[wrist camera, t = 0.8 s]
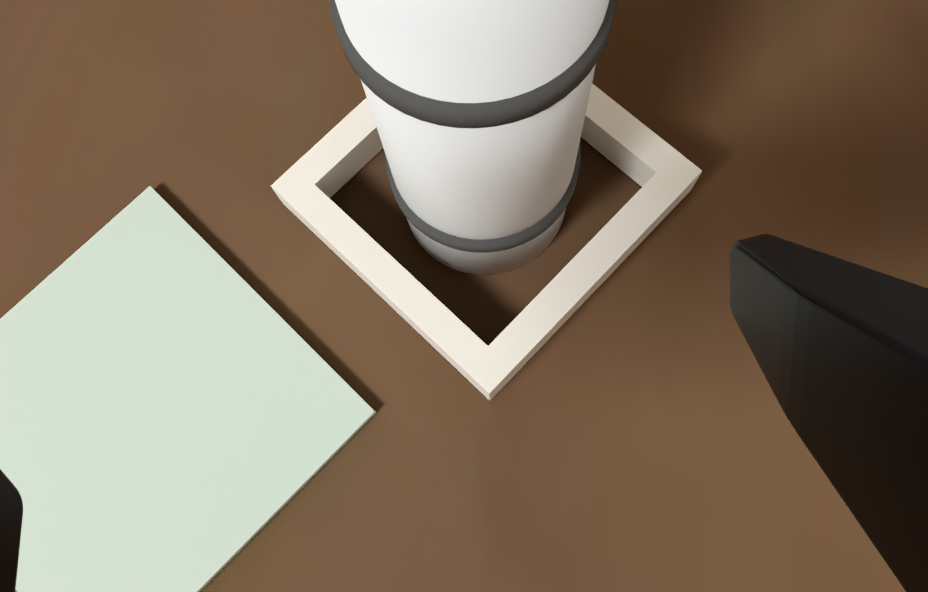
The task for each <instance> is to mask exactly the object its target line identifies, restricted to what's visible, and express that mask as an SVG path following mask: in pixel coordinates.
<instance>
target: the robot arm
mask: <svg viewBox="0 0 928 592" xmlns="http://www.w3.org/2000/svg"><path fill="white" fill-rule="evenodd" d="M729 302H730V307H731V311H732V313H733V316H734V318H735V320H736V322H737V324H738V326H739V328H740V330H741V331H742V333H743V335H744V337H745V339H746V341H747V343H748V345H749V347H750V349H751V351H752V352H753V354H754V356H755V358H756V360H757V362H758V364H759V366H760V368H761V370H762V372H763V373H764V375H765V377H766V379H767V381H768V383H769V385H770V387H771V389H772V391H773V393H774V394H775V396H776V398H777V400H778V402H779V404H780V406H781V407H782V409H783V411H784V413H785V415H786V416H787V418H788V420H789V421H790V423H791V424H792V426H793V427H794V429H795V431H796V432H797V434H798V435H799V437H800V438H801V439H802V441H803V442H804V444H805V445H806V447H807V448H808V450H809V451H810V453H811V454H812V455H813V457H814V458H815V460H816V461H817V463H818V464H819V466H820V467H821V469H822V470H823V471H824V473H825V474H826V476H827V477H828V479H829V480H830V482H831V483H832V485H833V486H834V487H835V489H836V490H837V492H838V493H839V495H840V496H841V498H842V499H843V501H844V502H845V503H846V505H847V506H848V508H849V509H850V511H851V512H852V514H853V515H854V517H855V518H856V520H857V521H858V522H859V524H860V525H861V527H862V528H863V530H864V531H865V533H866V534H867V536H868V537H869V538H870V540H871V541H872V543H873V544H874V546H875V547H876V549H877V550H878V552H879V553H880V554H881V556H882V557H883V559H884V560H885V562H886V563H887V565H888V566H889V568H890V569H891V570H892V572H893V573H894V575H895V576H896V578H897V579H898V581H899V582H900V584H901V585H902V586H903V588H904V589H905V591H906V592H928V289H927V288H924V287H921V286H919V285H916V284H913V283H910V282H907V281H904V280H901V279H898V278H895V277H892V276H889V275H886V274H883V273H881V272H878V271H875V270H872V269H869V268H866V267H863V266H860V265H857V264H854V263H851V262H848V261H845V260H842V259H840V258H837V257H834V256H831V255H828V254H825V253H822V252H819V251H816V250H813V249H810V248H807V247H804V246H802V245H799V244H796V243H793V242H790V241H787V240H784V239H781V238H778V237H775V236H772V235H768V234H762V235H758V236H754V237H750V238H747V239H743V240H739V241H736V242H735V243H734V244H733V245H732V246H731V249H730V254H729ZM22 518H23V502H22V498H21V495H20V493H19V491H18V490H17V488H16V487H15V486H14V484H13V483H12V482H11V481H10V480H9V479H8V477H7V476H6V475H5V474H4V473H3V471H2V470H1V469H0V592H15V589H16V579H17V569H18V559H19V548H20V538H21V528H22Z"/></svg>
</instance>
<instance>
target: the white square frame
mask: <svg viewBox="0 0 928 592" xmlns="http://www.w3.org/2000/svg"><path fill="white" fill-rule="evenodd" d="M581 138H583V139H584V140H585V141H586V142H587V143H589V144H590V145H591V146H592V147H594V148H595V149H596V150H597V151H598V152H600V153H601V154H602V155H603V156H605V157H606V158H607V159H608V160H609V161H611V162H612V163H613V164H614V165H616V166H617V167H618V168H619V169H620V170H622V171H623V172H624V173H625V174H627V175H628V176H629V177H630V178H631V179H633V180H634V181H635V182H636V183H638V184H639V185H640V186H641V187H642V188H641V189H640V190H639V191H638V192H637V193H636V194H635V195H634V196H633V197H632V198H631V199H630V200H629V201H628V202H627V203H626V204H625V205H624V206H623V207H622V209H621V210H620V211H619V212H618V213H617V214H616V215H615V216H614V217H613V218H612V219H611V220H610V221H609V222H608V223H607V224H606V225H605V226H604V227H603V228H602V229H601V230H600V231H599V232H598V233H597V234H596V235H595V236H594V237H593V238H592V239H591V240H590V242H589V243H588V244H587V245H586V246H585V247H584V248H583V249H582V250H581V251H580V252H579V253H578V254H577V255H576V256H575V257H574V258H573V259H572V260H571V261H570V262H569V263H568V264H567V265H566V266H565V267H564V268H563V269H562V270H561V271H560V272H559V273H558V274H557V276H556V277H555V278H554V279H553V280H552V281H551V282H550V283H549V284H548V285H547V286H546V287H545V288H544V289H543V290H542V291H541V292H540V293H539V294H538V295H537V296H536V297H535V298H534V299H533V300H532V301H531V302H530V303H529V304H528V305H527V306H526V307H525V308H524V310H523V311H522V312H521V313H520V314H519V315H518V316H517V317H516V318H515V319H514V320H513V321H512V322H511V323H510V324H509V325H508V326H507V327H506V328H505V329H504V330H503V331H502V332H501V333H500V334H499V335H498V336H497V337H496V338H495V339H494V340H493V341H492V342H491V344H490V345H489V346H487V345H486V344H485V343H484V342H483V341H482V340H481V339H480V338H479V337H478V336H477V335H476V334H475V333H473V332H472V331H471V330H470V329H469V328H468V327H467V326H466V325H465V324H464V323H463V322H462V321H461V320H460V319H458V318H457V317H456V316H455V315H454V314H453V313H452V312H451V311H450V310H449V309H448V308H447V307H446V306H445V305H443V304H442V303H441V302H440V301H439V300H438V299H437V298H436V297H435V296H434V295H433V294H432V293H431V292H429V291H428V290H427V289H426V288H425V287H424V286H423V285H422V284H421V283H420V282H419V281H418V280H417V279H416V278H414V277H413V276H412V275H411V274H410V273H409V272H408V271H407V270H406V269H405V268H404V267H403V266H402V265H401V264H399V263H398V262H397V261H396V260H395V259H394V258H393V257H392V256H391V255H390V254H389V253H388V252H387V251H385V250H384V249H383V248H382V247H381V246H380V245H379V244H378V243H377V242H376V241H375V240H374V239H373V238H372V237H370V236H369V235H368V234H367V233H366V232H365V231H364V230H363V229H362V228H361V227H360V226H359V225H358V224H357V223H355V222H354V221H353V220H352V219H351V218H350V217H349V216H348V215H347V214H346V213H345V212H344V211H343V210H342V209H340V208H339V207H338V206H337V205H336V204H335V203H334V202H333V201H332V200H331V199H330V198H331V197H332V196H333V195H334V194H335V193H336V192H337V191H338V190H339V189H340V188H341V187H342V186H344V185H345V184H346V183H347V182H348V181H349V180H350V179H351V178H352V177H353V176H354V175H355V174H356V173H357V172H358V171H360V170H361V169H362V168H363V167H364V166H365V165H366V164H367V163H368V162H369V161H370V160H371V159H372V158H373V157H374V156H375V155H377V154H378V153H379V152H380V151H381V150H382V149H383V145H382V142H381V139H380V136H379V133H378V130H377V127H376V124H375V121H374V118H373V115H372V112H371V109H370V106H369V103H368V100H367V98H366V99H365V100H363V101H362V102H361V103H360V104H359V105H358V106H357V107H356V108H355V109H354V110H353V111H352V112H350V113H349V114H348V115H347V116H346V117H345V118H344V119H343V120H342V121H341V122H340V123H338V124H337V125H336V126H335V127H334V128H333V129H332V130H331V131H330V132H329V133H328V134H327V135H325V136H324V137H323V138H322V139H321V140H320V141H319V142H318V143H317V144H316V145H315V146H313V147H312V148H311V149H310V150H309V151H308V152H307V153H306V154H305V155H304V156H303V157H302V158H300V159H299V160H298V161H297V162H296V163H295V164H294V165H293V166H292V167H291V168H290V169H288V170H287V171H286V172H285V173H284V174H283V175H282V176H281V177H280V178H279V179H278V180H277V181H275V182H274V183H273V184H272V185H271V187H272V189H273V190H274V191H275V193H276V194H277V196H278V197H279V198H280V200H281V201H282V203H283V204H284V205H285V206H286V207H287V208H288V209H289V210H290V211H291V212H292V213H293V214H294V215H295V216H297V217H298V218H299V219H300V220H301V221H302V222H303V223H304V224H305V225H306V226H307V227H308V228H309V229H310V230H311V231H312V232H313V233H314V234H315V235H316V236H318V237H319V238H320V239H321V240H322V241H323V242H324V243H325V244H326V245H327V246H328V247H329V248H330V249H331V250H332V251H333V252H334V253H335V254H336V255H337V256H338V257H340V258H341V259H342V260H343V261H344V262H345V263H346V264H347V265H348V266H349V267H350V268H351V269H352V270H353V271H354V272H355V273H356V274H357V275H358V276H359V277H361V278H362V279H363V280H364V281H365V282H366V283H367V284H368V285H369V286H370V287H371V288H372V289H373V290H374V291H375V292H376V293H377V294H378V295H379V296H380V297H382V298H383V299H384V300H385V301H386V302H387V303H388V304H389V305H390V306H391V307H392V308H393V309H394V310H395V311H396V312H397V313H398V314H399V315H400V316H401V317H402V318H404V319H405V320H406V321H407V322H408V323H409V324H410V325H411V326H412V327H413V328H414V329H415V330H416V331H417V332H418V333H419V334H420V335H421V336H422V337H423V338H425V339H426V340H427V341H428V342H429V343H430V344H431V345H432V346H433V347H434V348H435V349H436V350H437V351H438V352H439V353H440V354H441V355H442V356H443V357H444V358H445V359H447V360H448V361H449V362H450V363H451V364H452V365H453V366H454V367H455V368H456V369H457V370H458V371H459V372H460V373H461V374H462V375H463V376H464V377H465V378H466V379H468V380H469V381H470V382H471V383H472V384H473V385H474V386H475V387H476V388H477V389H478V390H479V391H480V392H481V393H482V394H483V395H484V396H485V397H486V398H487V399H489V400H490V401H491V399H492V398H493V397H494V396H495V395H496V394H497V393H498V392H499V391H500V390H501V389H502V388H503V387H504V386H505V385H506V384H507V383H508V382H509V381H510V380H511V379H512V377H513V376H514V375H515V374H516V373H517V372H518V371H519V370H520V369H521V368H522V367H523V366H524V365H525V364H526V363H527V362H528V361H529V360H530V359H531V358H532V357H533V355H534V354H535V353H536V352H537V351H538V350H539V349H540V348H541V347H542V346H543V345H544V344H545V343H546V342H547V341H548V340H549V339H550V338H551V337H552V336H553V334H554V333H555V332H556V331H557V330H558V329H559V328H560V327H561V326H562V325H563V324H564V323H565V322H566V321H567V320H568V319H569V318H570V317H571V316H572V315H573V314H574V312H575V311H576V310H577V309H578V308H579V307H580V306H581V305H582V304H583V303H584V302H585V301H586V300H587V299H588V298H589V297H590V296H591V295H592V294H593V293H594V292H595V290H596V289H597V288H598V287H599V286H600V285H601V284H602V283H603V282H604V281H605V280H606V279H607V278H608V277H609V276H610V275H611V274H612V273H613V272H614V271H615V270H616V268H617V267H618V266H619V265H620V264H621V263H622V262H623V261H624V260H625V259H626V258H627V257H628V256H629V255H630V254H631V253H632V252H633V251H634V250H635V249H636V248H637V246H638V245H639V244H640V243H641V242H642V241H643V240H644V239H645V238H646V237H647V236H648V235H649V234H650V233H651V232H652V231H653V230H654V229H655V228H656V227H657V226H658V224H659V223H660V222H661V221H662V220H663V219H664V218H665V217H666V216H667V215H668V214H669V213H670V212H671V211H672V210H673V209H674V208H675V207H676V206H677V205H678V204H679V202H680V201H681V200H682V199H683V198H684V197H685V196H686V195H687V194H688V193H689V192H690V191H691V190H692V188H693V186H694V184H695V183H696V181H697V179H698V178H699V176H700V174H701V173H702V170H701V169H699V168H698V167H697V166H696V165H694V164H693V163H692V162H691V161H689V160H688V159H687V158H686V157H684V156H683V155H682V154H681V153H679V152H678V151H677V150H676V149H674V148H673V147H672V146H670V145H669V144H668V143H667V142H665V141H664V140H663V139H662V138H660V137H659V136H658V135H657V134H655V133H654V132H653V131H652V130H650V129H649V128H648V127H647V126H645V125H644V124H643V123H641V122H640V121H639V120H638V119H636V118H635V117H634V116H633V115H631V114H630V113H629V112H628V111H626V110H625V109H624V108H623V107H621V106H620V105H619V104H618V103H616V102H615V101H614V100H613V99H611V98H610V97H609V96H607V95H606V94H605V93H604V92H602V91H601V90H600V89H599V88H597V87H596V86H595V85H594V84H592V85H591V90H590V95H589V100H588V105H587V109H586V114H585V119H584V124H583V129H582V133H581Z"/></svg>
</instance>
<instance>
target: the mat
mask: <svg viewBox="0 0 928 592" xmlns="http://www.w3.org/2000/svg"><path fill="white" fill-rule="evenodd" d="M375 413H376V412H375V411H374V410H373V409H372V408H371V407H370V406H369V405H368V404H367V403H366V402H365V401H364V400H363V399H362V398H361V397H360V396H359V395H358V394H357V393H356V392H355V391H354V390H353V389H352V388H351V387H350V386H349V385H348V384H347V383H346V382H345V381H344V380H343V379H342V378H341V377H340V376H339V375H338V374H337V373H336V372H335V371H334V370H333V369H332V368H331V367H330V366H329V365H328V364H327V363H326V362H325V361H324V360H323V359H322V358H321V357H320V356H319V355H318V354H317V353H316V352H315V351H314V350H313V349H312V348H311V347H310V346H309V345H308V344H307V343H306V342H305V341H304V340H303V339H302V338H301V337H300V336H299V335H298V334H297V333H296V332H295V331H294V330H293V329H292V328H291V327H290V326H289V325H288V324H287V323H286V322H285V321H284V320H283V319H282V318H281V317H280V316H279V315H278V314H277V313H276V312H275V311H274V310H273V309H272V308H271V307H270V306H269V304H268V303H267V302H266V301H265V300H264V299H263V298H262V297H261V296H260V295H259V294H258V293H257V292H256V291H255V290H254V289H253V288H252V287H251V286H250V285H249V284H248V283H247V282H246V281H245V280H244V279H243V278H242V277H241V276H240V275H239V274H238V273H237V272H236V271H235V270H234V269H233V268H232V267H231V266H230V265H229V264H228V263H227V262H226V261H225V260H224V259H223V258H222V257H221V256H220V255H219V254H218V253H217V252H216V251H215V250H214V249H213V248H212V247H211V246H210V245H209V244H208V243H207V242H206V241H205V240H204V239H203V238H202V237H201V236H200V235H199V234H198V233H197V232H196V231H195V230H194V229H193V228H192V227H191V226H190V225H189V224H188V223H187V222H186V221H185V220H184V219H183V218H182V217H181V216H180V215H179V214H178V213H177V212H176V211H175V210H174V209H173V208H172V207H171V206H170V205H169V204H168V203H167V202H166V201H165V200H164V199H163V198H162V197H161V196H160V195H159V194H158V193H157V192H156V191H155V190H154V189H153V188H152V187H151V186H149V187H148V188H147V189H146V190H145V191H144V192H142V193H141V194H140V195H139V196H138V197H137V198H136V199H135V200H133V201H132V202H131V203H130V204H129V205H128V206H127V207H126V208H124V209H123V210H122V211H121V212H120V213H119V214H118V215H117V216H115V217H114V218H113V219H112V220H111V221H110V222H109V223H108V224H106V225H105V226H104V227H103V228H102V229H101V230H100V231H99V232H97V233H96V234H95V235H94V236H93V237H92V238H91V239H90V240H88V241H87V242H86V243H85V244H84V245H83V246H82V247H81V248H79V249H78V250H77V251H76V252H75V253H74V254H73V255H72V256H70V257H69V258H68V259H67V260H66V261H65V262H64V263H63V264H61V265H60V266H59V267H58V268H57V269H56V270H55V271H54V272H52V273H51V274H50V275H49V276H48V277H47V278H46V279H45V280H43V281H42V282H41V283H40V284H39V285H38V286H37V287H36V288H34V289H33V290H32V291H31V292H30V293H29V294H28V295H27V296H25V297H24V298H23V299H22V300H21V301H20V302H19V303H18V304H16V305H15V306H14V307H13V308H12V309H11V310H10V311H9V312H7V313H6V314H5V315H4V316H3V317H2V318H1V319H0V469H1V470H2V471H3V473H4V474H5V475H6V476H7V477H8V479H9V480H10V481H11V482H12V483H13V484H14V486H15V487H16V488H17V490H18V491H19V493H20V495H21V498H22V502H23V518H22V528H21V538H20V548H19V559H18V569H17V579H16V591H17V592H200V591H201V590H202V589H203V588H204V587H205V586H206V585H207V584H208V583H209V582H210V581H211V580H212V579H213V578H214V577H215V576H216V575H217V574H218V573H219V572H220V571H221V570H222V569H223V568H224V567H225V566H226V565H227V564H228V563H229V562H230V561H231V560H232V559H233V558H234V557H235V556H236V555H237V554H238V553H239V552H240V551H241V550H242V549H243V548H244V547H245V546H246V544H247V543H248V542H249V541H250V540H251V539H252V538H253V537H254V536H255V535H256V534H257V533H258V532H259V531H260V530H261V529H262V528H263V527H264V526H265V525H266V524H267V523H268V522H269V521H270V520H271V519H272V518H273V517H274V516H275V515H276V514H277V513H278V512H279V511H280V510H281V509H282V508H283V507H284V506H285V505H286V504H287V503H288V502H289V501H290V500H291V499H292V498H293V497H294V496H295V495H296V494H297V493H298V492H299V491H300V490H301V489H302V488H303V487H304V486H305V485H306V484H307V483H308V481H309V480H310V479H311V478H312V477H313V476H314V475H315V474H316V473H317V472H318V471H319V470H320V469H321V468H322V467H323V466H324V465H325V464H326V463H327V462H328V461H329V460H330V459H331V458H332V457H333V456H334V455H335V454H336V453H337V452H338V451H339V450H340V449H341V448H342V447H343V446H344V445H345V444H346V443H347V442H348V441H349V440H350V439H351V438H352V437H353V436H354V435H355V434H356V433H357V432H358V431H359V430H360V429H361V428H362V427H363V426H364V425H365V424H366V423H367V422H368V421H369V420H370V418H371V417H372V416H373V415H374V414H375Z"/></svg>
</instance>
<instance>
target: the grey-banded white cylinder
mask: <svg viewBox="0 0 928 592" xmlns="http://www.w3.org/2000/svg"><path fill="white" fill-rule="evenodd" d="M616 2H617V0H330V6H331V12H332V17H333V21H334V24H335V27H336V29H337V32H338V35H339V38H340V41H341V44H342V47H343V49H344V52H345V55H346V57H347V59H348V61H349V62H350V64H351V66H352V68H353V70H354V71H355V72H356V74H357V75H358V76H359V78H360V79H361V81H362V84H363V87H364V91H365V94H366V97H367V100H368V103H369V106H370V109H371V112H372V115H373V118H374V121H375V124H376V127H377V130H378V133H379V136H380V139H381V142H382V145H383V148H384V151H385V162H386V171H387V176H388V180H389V183H390V186H391V189H392V191H393V194H394V197H395V200H396V202H397V203H398V205H399V207H400V209H401V211H402V212H403V213H404V215H405V216H406V218H407V221H408V224H409V227H410V229H411V231H412V233H413V235H414V237H415V238H416V240H417V241H418V243H419V244H420V245H421V247H422V248H423V249H424V250H425V251H426V252H427V253H428V254H429V255H430V256H432V257H433V258H434V259H435V260H437V261H439V262H440V263H442V264H444V265H445V266H447V267H450V268H452V269H454V270H457V271H461V272H464V273H469V274H476V275H491V274H500V273H504V272H509V271H511V270H514V269H517V268H519V267H521V266H523V265H525V264H527V263H529V262H531V261H532V260H533V259H535V258H536V257H538V256H539V255H540V254H541V253H542V252H543V251H544V250H545V249H546V248H547V247H548V246H549V245H550V244H551V242H552V241H553V239H554V238H555V236H556V235H557V233H558V231H559V229H560V227H561V225H562V222H563V218H564V215H565V210H566V207H567V205H568V203H569V201H570V199H571V197H572V195H573V192H574V189H575V186H576V182H577V178H578V174H579V168H580V161H581V147H580V138H581V133H582V129H583V124H584V119H585V114H586V109H587V105H588V100H589V95H590V90H591V85H592V81H593V76H594V71H595V66H596V63H597V61H598V60H599V58H600V56H601V54H602V52H603V50H604V48H605V45H606V43H607V40H608V37H609V33H610V30H611V26H612V22H613V17H614V13H615V8H616Z"/></svg>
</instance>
